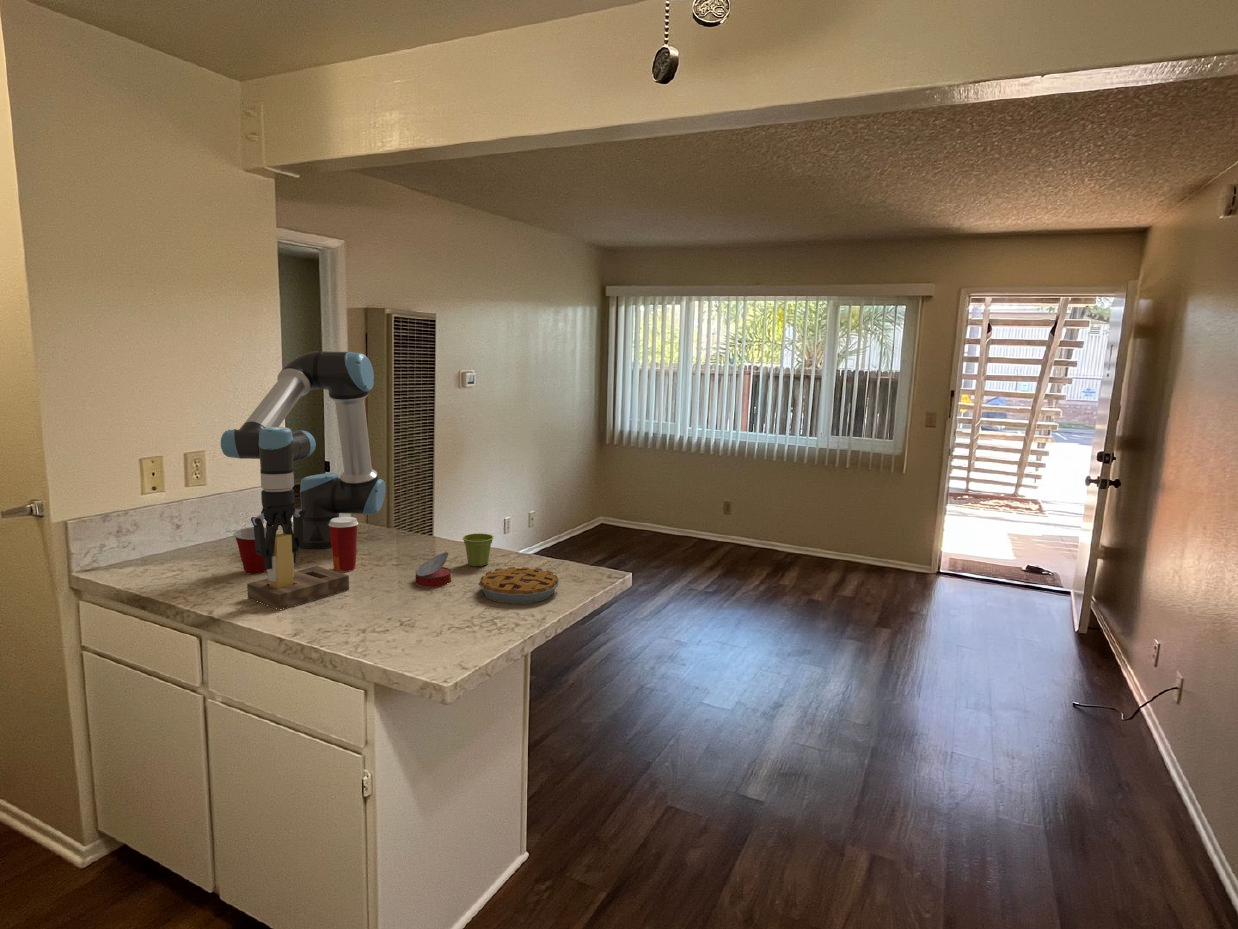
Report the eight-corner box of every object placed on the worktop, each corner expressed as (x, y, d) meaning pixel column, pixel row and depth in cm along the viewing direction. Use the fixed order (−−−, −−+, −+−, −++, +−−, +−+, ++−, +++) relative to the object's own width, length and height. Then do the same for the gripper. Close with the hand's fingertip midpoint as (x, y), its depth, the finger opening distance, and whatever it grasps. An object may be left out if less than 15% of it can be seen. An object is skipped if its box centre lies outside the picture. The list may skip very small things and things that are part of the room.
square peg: (284, 584, 185) (282, 532, 183) (293, 587, 183) (291, 535, 181) (269, 588, 182) (267, 535, 180) (278, 591, 180) (276, 538, 177)
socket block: (317, 579, 199) (316, 566, 198) (349, 589, 191) (348, 575, 191) (247, 598, 182) (247, 583, 182) (279, 610, 175) (278, 594, 174)
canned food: (443, 602, 198) (439, 577, 192) (410, 594, 200) (405, 569, 194) (460, 573, 207) (456, 549, 201) (428, 567, 209) (424, 542, 203)
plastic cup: (246, 579, 197) (244, 537, 195) (228, 571, 203) (226, 531, 202) (284, 571, 206) (282, 531, 204) (265, 563, 212) (264, 524, 210)
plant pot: (490, 569, 214) (490, 541, 213) (459, 568, 214) (459, 540, 213) (496, 560, 223) (496, 533, 222) (466, 559, 223) (466, 532, 222)
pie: (467, 602, 185) (467, 584, 184) (492, 578, 206) (493, 561, 206) (549, 609, 182) (549, 590, 182) (566, 583, 204) (566, 566, 203)
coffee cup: (364, 565, 213) (363, 517, 211) (351, 573, 205) (350, 523, 203) (337, 564, 214) (336, 515, 212) (323, 572, 206) (322, 521, 204)
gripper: (299, 482, 188) (302, 568, 191) (235, 491, 173) (240, 583, 177) (317, 486, 184) (319, 573, 187) (253, 495, 169) (257, 589, 173)
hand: (281, 578), depth 182 cm, fingers closed on square peg, 4 cm apart
